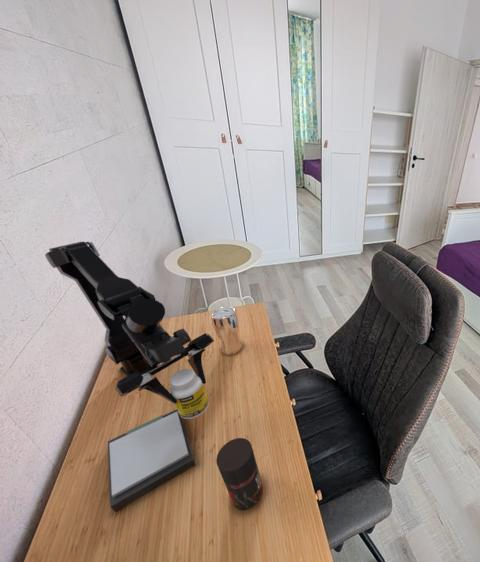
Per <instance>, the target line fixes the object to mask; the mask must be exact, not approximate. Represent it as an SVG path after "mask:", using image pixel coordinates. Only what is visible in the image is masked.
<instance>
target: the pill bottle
mask: <svg viewBox="0 0 480 562" xmlns="http://www.w3.org/2000/svg"><path fill="white" fill-rule="evenodd" d="M169 383H170V387H169V393H170V394H171V395H172V396H173V397H174V398H175V400H176V401H177V403H176V404H174V405H175V408H176V409H177V410H178V413H179V415H180V416H181V417H182V418H183V420H184V419H185V420H192V419H195V418H197V417H199V416H201V415H202V414H204V413H205V412H206V410H207V409H208V407H209V403H210V402H209V398H208V395H207V392H206V389H205V386H204V384H203V383H202V380H201V378H200V377H199V376H197V375H196V373H195V372H194V370H193V369H192V368H183V369H180V370H178V371H176V372H175V373H173V374H172V376H171V377H170V379H169Z"/></svg>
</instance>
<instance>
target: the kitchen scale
mask: <svg viewBox="0 0 480 562" xmlns="http://www.w3.org/2000/svg"><path fill="white" fill-rule="evenodd" d="M107 459H108V482H109V506H110V508H111V509H112V511H114V512H116V513H117V512H118V511H119V510H121V509H123V508H124V507H126V506H128V505H129V504H131V503H133V502H135V501H136V500H138V499H139V498H141V497H143V496H145V495H146V494H148V493H151V492H152V491H154V490H155V489H157V488H159V487H160V486H162V485H164V484H166V483H168V482H169V481H170V480H172V479H174V478H175V477H177V476H179V475H182V474H183V473H184V472H186V471H188V470H190V469H191V468H193V467H194V466H196V465H197V464H196V460H195V457H194V454H193V450H192V447H191V443H190V439H189V435H188V432H187V427H186V425H185V421H184V418H182V417H181V416H180V415H179V413H178V410H177V408H176V409H174V410H172V411H169V412H168V413H165V414H162V415H159V416H157V417H155V418H153V419H151V420H149V421H146V422H144V423H142V424H140V425H138V426H136V427H134V428H131V429H130V430H127V431H126V432H125V433H123V434H121V435H118V436H116V437H114V438H112V439H109V440H108V441H107Z"/></svg>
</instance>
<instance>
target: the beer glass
mask: <svg viewBox="0 0 480 562" xmlns="http://www.w3.org/2000/svg"><path fill="white" fill-rule="evenodd" d="M210 317H211V323H212V327H213V330H214V332H215V334H216V336H217V338H218V340H219V341H220V343H221V344H220V345H221V352H222V353H223V355H227V356H229V355H231V356H232V355H235V354H237V353H239V352H240V351H241V350H242V347H243V344H242V342H241V340H240V338H239V337H240V336H239V320H238V316H237V314H236V310H235V308H234V307H232V306H228V305H224V306H219V307H217V308H214V309H213V311H211V312H210Z"/></svg>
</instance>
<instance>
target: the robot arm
mask: <svg viewBox="0 0 480 562" xmlns="http://www.w3.org/2000/svg"><path fill="white" fill-rule="evenodd" d="M48 250H49V251H48V252H46V253H44V256H45V259H46V260H47V262H48V263H49V265H50V266H51V267H52V268H53V269H57V271H58V272H59V274H61V275H63V276H64V277H67V278H69V279H71V280H73V281H74V282H75V283H76V285H77V286H78V287H79V289H80V291H81V292H82V294H83V296H84V297H85V298H86V300H87V302H88V303H89V305H90V307H91V308H92V309H93V311H94V312H95V314H96V316H97V317H98V319H99V320H100V322H101V324H102V325H103V327H104V328H105V335H104V342H105V344H106V347H105V353H106V355H107V357H108V358H109V359H110V360H111V361H112V362H113V363H114V364H115V365H119V364H121V367H120V371H121V372H122V373H123V374H124V375H125V377H123V378H120V380H118V381H117V382H116V384H115V387H114V389H115V391H116V392H117V394H118V395H119V396H120V398H123V397H125V396H127V395H128V394H130V393H131V392H134V391H136V389H137V391H138V392H142V391H143V390H146V391H148V392H151V393H154V394H156V395H158V396H160V397H162V398H163V399H165V400H167V401H169V402H170V403H172V404H174V405H175V404H176V403H177V401H176V400H175V398H174V397H173V396H172V395H171V394H170V391H169V390H168V389H167V388H166V387H165V386H164V385H163V384H162V383H161V382H160V380H159V379H158V377H157V376H155V377H154V375H156V374H158V373H161V371H163V370H165V369H166V368H168V367H170V366H172V365H173V364H175V363H177V362H179V361H180V360H182V359H184V358H185V357H188V359H187V360H186V361H187V363H188V364H189V366H190V367H191V370H193V371H194V372H195V375H197V376H199V377H200V378H201V380H202V383H203V385H205V384H206V383H207V380H206V375H205V372H204V368H203V362H202V361H203V360H202V358H203V357H202V356H203V353H204V352H205V351H206V348H207V347H209V346H210V345H211V344H213V343H214V342H215V340H214V338H213V337H212V335H211V334H209V333H206V332H205V333H203V334H201V335H199V336H198V337H195V338H194V339H191V336H190V335H189V334H188V332H187V331H186V330H185V328H180V329H177V330H176V331H173V332H172V335H173V336H171V335H170V333H168V332H167V331H166V330H165V329H164V327H163V326H162V325H161V323H162V321H163V319H164V317H165V315H166V309H165V308H166V307H165V306H164V305H163V303H162V302H161V301H159V300H157V299H156V298H155V295H154V294H153V293H152V292H149V291H148V290H146V289H145V288H143V287H141V286H138V285H136V284H135V283H134V282H133V281H132V280H131V279H128V278H124V277H121V276H118V275H117V274H116V273H115V272H114V270H112V269H111V268H110V267H109V266H108V264H107V263H106V262H105V261H104V260H103V259H102V258H101V257H100V256H101V254H100V253H99V251H98V250H97V248H96V246H95V245H94V243H93V242H92V241H90V242H89V241H78V242H77V241H76V242H72V243H68V244H65V245H64V244H63V245H59V246H56V247H50V248H49V249H48ZM185 345H187V346H186V347H185Z"/></svg>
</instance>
